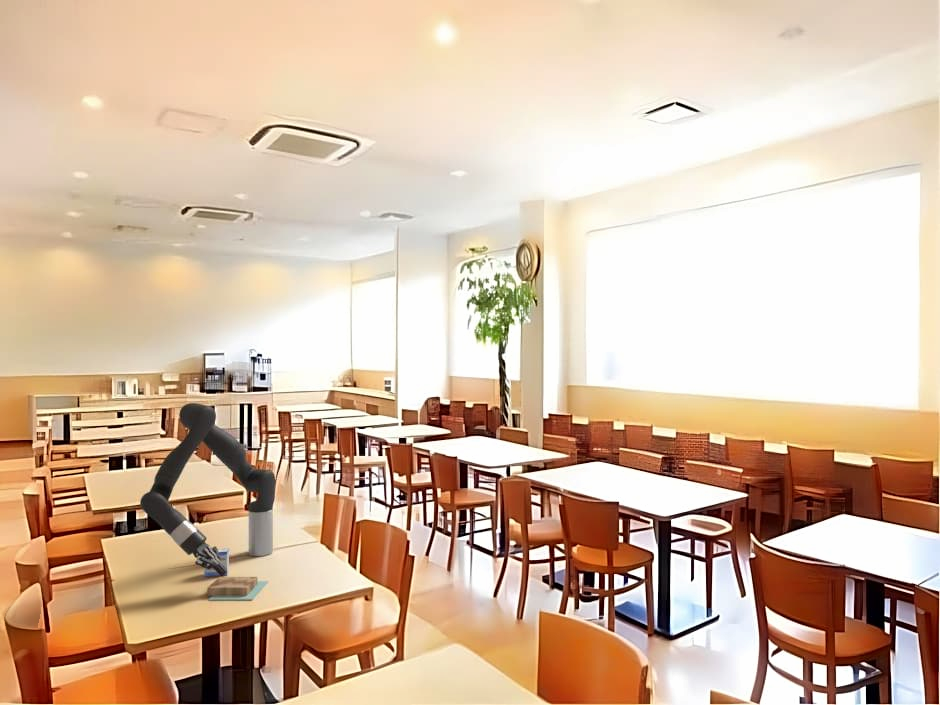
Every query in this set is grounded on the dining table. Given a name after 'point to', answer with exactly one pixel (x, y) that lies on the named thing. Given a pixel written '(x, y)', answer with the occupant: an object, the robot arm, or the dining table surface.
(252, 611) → the dining table surface
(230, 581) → the wooden block
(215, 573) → the medicine box
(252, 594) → the mat
